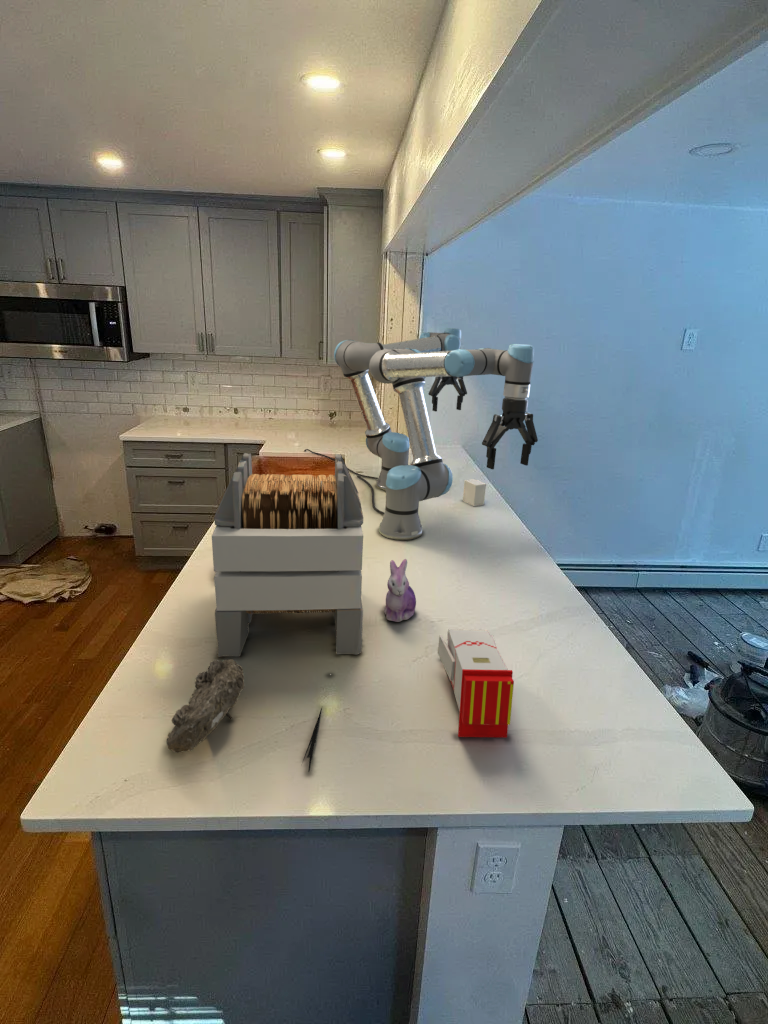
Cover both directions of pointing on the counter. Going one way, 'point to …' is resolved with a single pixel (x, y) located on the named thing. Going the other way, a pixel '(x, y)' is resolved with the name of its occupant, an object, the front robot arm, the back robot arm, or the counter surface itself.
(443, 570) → the counter surface
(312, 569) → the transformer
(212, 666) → the fossil
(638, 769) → the counter surface
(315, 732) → the dark thin pointed pieces
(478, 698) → the toy
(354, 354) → the back robot arm
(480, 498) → the block
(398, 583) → the figurine
